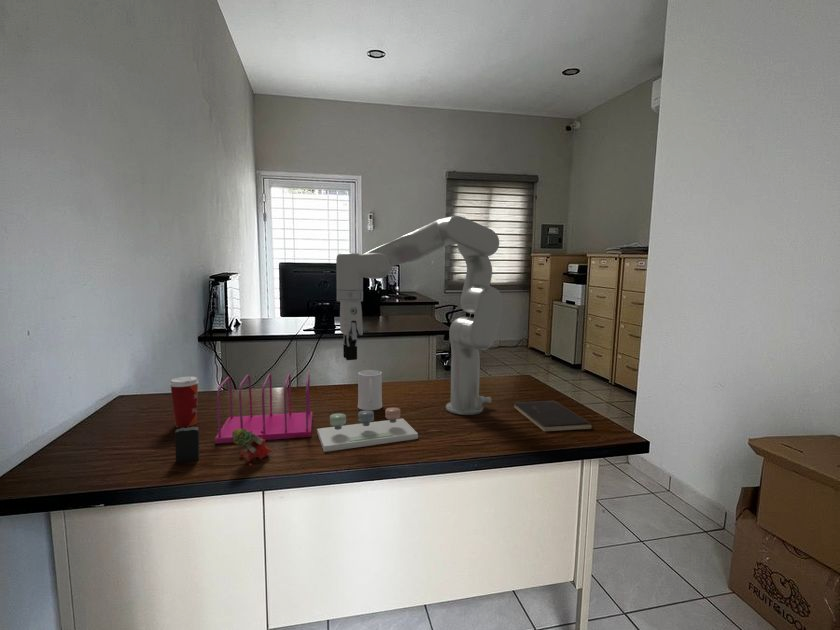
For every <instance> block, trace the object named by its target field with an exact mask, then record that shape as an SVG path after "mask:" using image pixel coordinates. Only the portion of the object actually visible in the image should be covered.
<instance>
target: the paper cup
mask: <svg viewBox="0 0 840 630" xmlns="http://www.w3.org/2000/svg"><path fill="white" fill-rule="evenodd" d="M198 384H199V380H198V377H197V376H189V375H188V376H179V377H175V378H172V379H171V380H170V383H169V387H170V391H171V398H172V408H173V409H172V410H173V416H174V423H175V424H174V425H175V427H176V426H177V427H176V428H178V427H187V428H188V427H189V426H191V427H194V426H196V425H195V424H198V423H197V422H198V390H199V389H198V388H199V387H198ZM193 425H194V426H193Z"/></svg>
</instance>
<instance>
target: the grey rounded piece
mask: <svg viewBox="0 0 840 630" xmlns="http://www.w3.org/2000/svg"><path fill="white" fill-rule="evenodd" d="M357 417H358V419H357V420H358V422H360V423H363V426H369V425H370V422H374V420H375V412H374V410H361V411H359V412H358V414H357Z"/></svg>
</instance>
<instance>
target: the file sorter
mask: <svg viewBox="0 0 840 630" xmlns="http://www.w3.org/2000/svg"><path fill="white" fill-rule="evenodd" d="M310 377H311V376H310V372H307V374H306V381H305V412H292V388H291V387H292V385H291V383H292V382H291V381H292V380H291V373H290V372H289V373H288V374H287V376H286V377H285V382H284V386H283V387H284V388H283V403H284V405H283V406H284V408H283V409H284V413H275V414H273V392H272V390H273V389H272V388H273V387H272V383H273V381H272V373H268V374H267V376H266V378H265V380H264V382H263V384H262V387H261V404H262V405H261V408H262V410H261V411H262V413H261V414H259V415H257V414H256V415H253V402H252V383H251V381H252V380H251V375H250V374H246V376H244V378H243V379H242V381H241V382H240V383H239V387H238V401H239V402H238V404H239V405H238V406H239V416H233V413H234V412H233V395H232V394H233V393H232V392H233V391H232V388H233V387H232V379H231V377H230V376H227V377H226V378H225V379H224V380H223V381H222V383H221V384H219V386H218V388H217V393H216V394H217V395H216V405H217V406H216V407H217V411H216V412H217V430H218V432H217V434H216V436H215V437H214V439H215V440H214V441H215V444H227V443H228V444H229V443H234V441H233V440H234V439H233V437H232V432H233V431H234V430H236V429H246V430H248V431H249V432H251V431H252V433H253V434H255V435H256V436H258V437H259V438H260V437H263V439H265V441H271V440H282V439H283V440H284V439H286V440H287V439H298V438H300V439H301V438H311V436H312V429H313V428H312V427H313V418H314V417H313V411H311V404H310V403H311V402H310V399H311V397H310V396H311V395H310V394H311V393H310V388H311V387H310V382H311V381H310V379H311V378H310ZM247 379H248V392H249V393H248V394H249V413H250V415H243V405H242V386H243V385H244V383H245V382H246V381H247ZM268 381H269V414H266V409H265V388H266V385H267V383H268ZM227 382H228V387H229V388H228V389H229V409H230V414H229V415H230V416H229V417H228V418H227V419H226V421H225V422H224V424H223V426H222V425H221V405H220V404H221V403H220V396H221V395H220V392H221V389H222V387H223V386H224V385H225V383H227ZM287 385H288V407H289V408H288V409H289V411H288V413H287ZM221 426H222V427H221ZM261 431H263V432H264V433H261Z"/></svg>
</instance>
